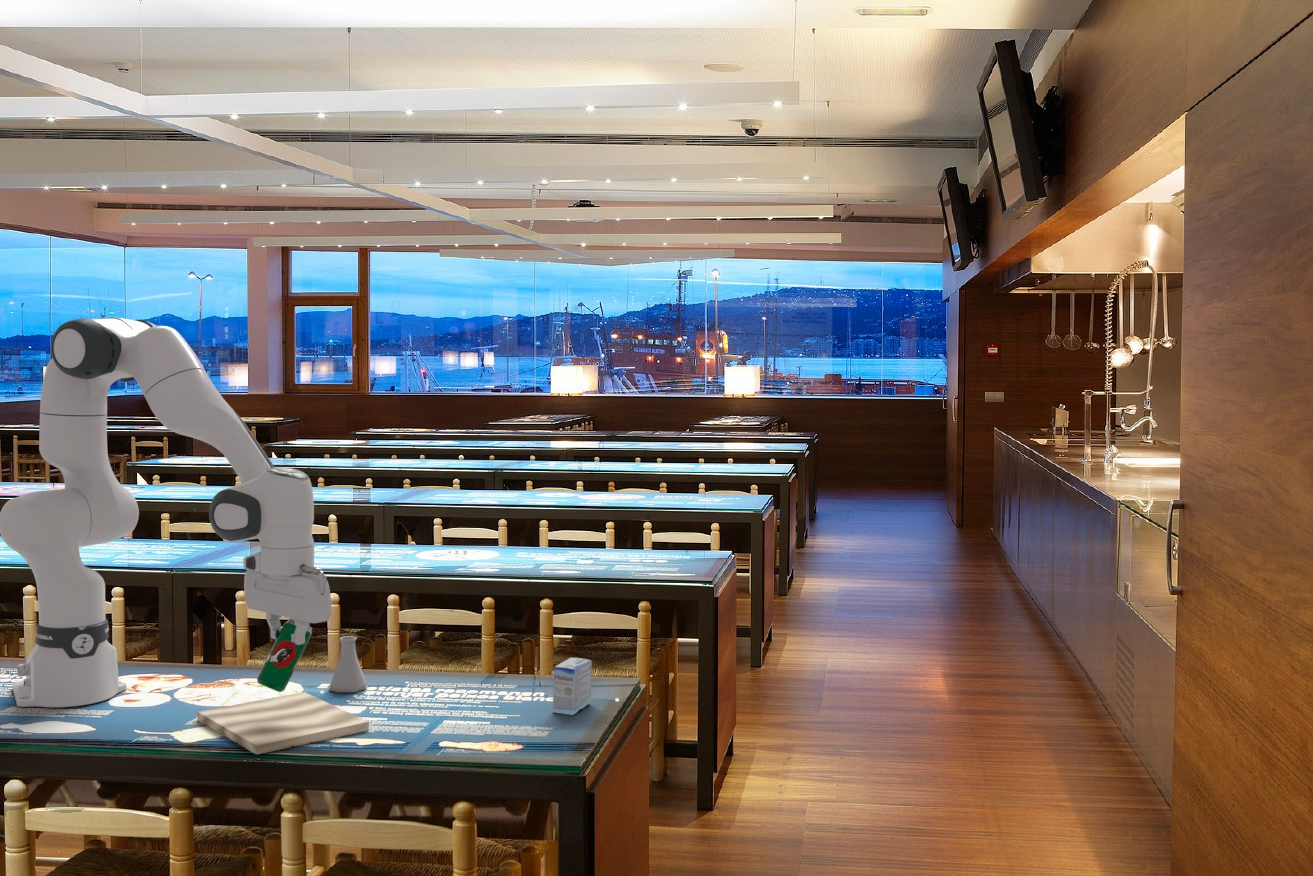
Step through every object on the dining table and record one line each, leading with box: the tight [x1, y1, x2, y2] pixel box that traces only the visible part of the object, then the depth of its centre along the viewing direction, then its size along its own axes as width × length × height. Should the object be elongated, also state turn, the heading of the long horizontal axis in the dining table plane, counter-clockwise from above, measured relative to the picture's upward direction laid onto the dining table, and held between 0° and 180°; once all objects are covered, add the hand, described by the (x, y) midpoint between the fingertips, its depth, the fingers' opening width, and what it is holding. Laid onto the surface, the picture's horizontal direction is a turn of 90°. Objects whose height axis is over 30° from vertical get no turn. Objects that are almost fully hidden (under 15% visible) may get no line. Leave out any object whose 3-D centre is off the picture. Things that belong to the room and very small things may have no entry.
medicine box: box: [552, 657, 593, 710], centre depth 218 cm, size 8×4×9 cm, turn 161°
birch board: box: [196, 691, 370, 755], centre depth 205 cm, size 24×20×2 cm
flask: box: [328, 635, 368, 693], centre depth 229 cm, size 7×7×10 cm
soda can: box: [256, 618, 313, 693], centre depth 205 cm, size 5×5×12 cm
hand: (287, 641), depth 205 cm, fingers open, 4 cm apart
